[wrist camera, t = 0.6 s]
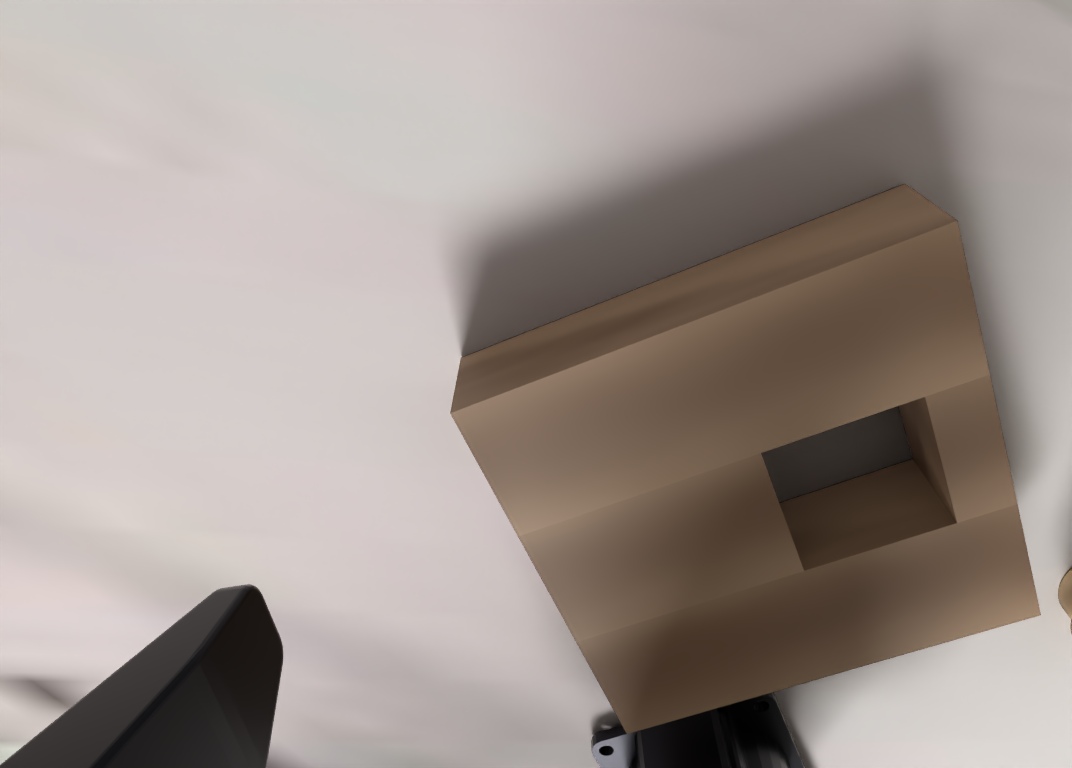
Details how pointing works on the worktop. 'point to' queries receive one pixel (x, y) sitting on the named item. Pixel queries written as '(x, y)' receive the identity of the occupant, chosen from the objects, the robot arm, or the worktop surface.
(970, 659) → the worktop surface
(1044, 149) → the worktop surface
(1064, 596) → the oak peg
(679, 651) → the walnut block
